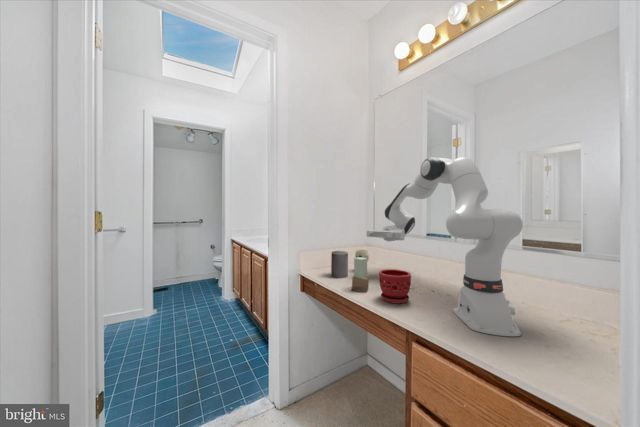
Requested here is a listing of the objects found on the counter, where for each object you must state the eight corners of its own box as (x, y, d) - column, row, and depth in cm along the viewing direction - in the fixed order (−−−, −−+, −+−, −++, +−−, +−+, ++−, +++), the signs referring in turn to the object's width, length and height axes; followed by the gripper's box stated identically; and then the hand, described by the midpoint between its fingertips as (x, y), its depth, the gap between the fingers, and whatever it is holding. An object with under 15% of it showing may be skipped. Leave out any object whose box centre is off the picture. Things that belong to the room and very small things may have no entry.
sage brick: (359, 275, 125) (359, 256, 125) (367, 276, 122) (367, 258, 122) (354, 276, 122) (354, 258, 122) (362, 278, 119) (362, 259, 119)
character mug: (351, 270, 157) (351, 249, 157) (359, 269, 161) (359, 248, 161) (363, 274, 148) (364, 252, 148) (372, 272, 152) (372, 251, 152)
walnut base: (367, 292, 118) (367, 279, 118) (352, 290, 120) (352, 278, 120) (368, 287, 125) (368, 275, 124) (354, 286, 126) (354, 274, 126)
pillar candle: (328, 274, 148) (328, 249, 147) (342, 272, 152) (342, 248, 151) (336, 279, 139) (336, 252, 138) (351, 277, 143) (351, 250, 143)
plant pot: (417, 301, 106) (417, 273, 106) (395, 308, 99) (396, 277, 99) (393, 292, 117) (393, 266, 117) (372, 297, 111) (372, 270, 110)
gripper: (373, 227, 149) (360, 228, 139) (407, 228, 136) (396, 229, 125) (373, 237, 149) (360, 239, 139) (407, 240, 136) (396, 242, 125)
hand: (377, 235), depth 132 cm, fingers open, 8 cm apart
